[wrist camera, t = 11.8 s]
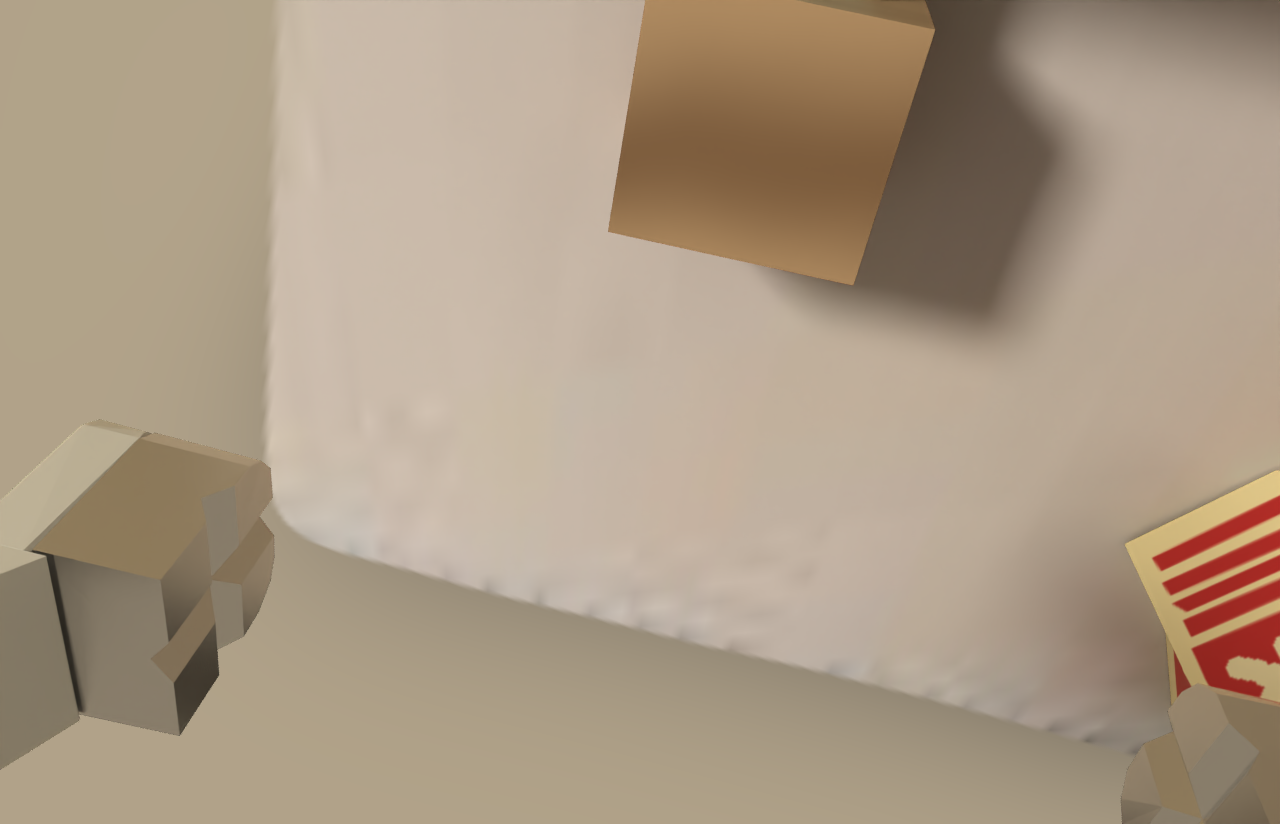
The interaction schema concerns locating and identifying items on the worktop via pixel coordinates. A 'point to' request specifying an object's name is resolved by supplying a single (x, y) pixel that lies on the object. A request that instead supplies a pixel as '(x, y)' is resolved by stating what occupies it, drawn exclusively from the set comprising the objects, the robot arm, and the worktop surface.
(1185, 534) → the milk carton
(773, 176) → the cube
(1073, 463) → the worktop surface
